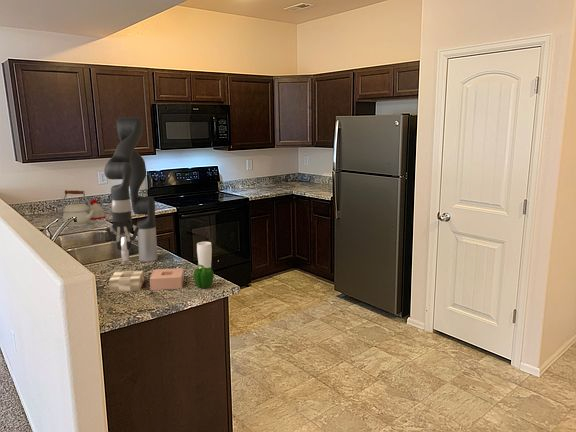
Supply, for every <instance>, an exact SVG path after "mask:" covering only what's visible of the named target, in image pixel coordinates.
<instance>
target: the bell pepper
mask: <svg viewBox="0 0 576 432" xmlns="http://www.w3.org/2000/svg"><path fill="white" fill-rule="evenodd" d="M196 267H197V268H196V269H194V272H193V279H194V280H193V281H194V283H195V286H196V287H197V288H198V289H208V288H209V289H210V288H211V287H212V285H213V282H214V278H215V276H214V274H215V273H214V270H213V269H212V266H211V267H210V268H205V267H204V266H203V265H199V264H197V265H196ZM199 267H202V268H200V269H199Z"/></svg>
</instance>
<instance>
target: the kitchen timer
mask: <svg viewBox="0 0 576 432" xmlns="http://www.w3.org/2000/svg"><path fill="white" fill-rule="evenodd" d="M89 202H90V210H89V211H90V212H91V210H95V211H94V213H93V215H92V217H91V219H90V221H96V220H95V219H99V220H102V219H101V218H104V217H105V218H106V214H105V210H104V209H103V207H102V206H101V205H100V204H99V200H97V199H95V198H93V199H91V201H89ZM87 207H88V208H89V206H87ZM105 218H104V219H105Z"/></svg>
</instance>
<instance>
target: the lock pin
mask: <svg viewBox="0 0 576 432" xmlns="http://www.w3.org/2000/svg"><path fill="white" fill-rule="evenodd" d="M127 242H128V241H127V237H126V235H121V236H120V244H121V251H120V253H121V255H120V256H121V264H122V265H123V266H124V265H129V264H130V253H129V252H130V250H128V247H127Z"/></svg>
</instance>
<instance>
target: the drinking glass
mask: <svg viewBox="0 0 576 432" xmlns="http://www.w3.org/2000/svg"><path fill="white" fill-rule="evenodd" d="M212 251H213V249H212V242H210V241H200V242H197V243H196V255H197V261H198V262H197V264H198V265H203V266H204V267H205V268H210V267H211V268H212V253H213V252H212ZM200 268H202V267H198V269H200Z"/></svg>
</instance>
